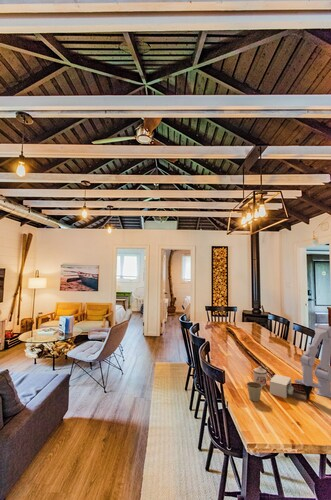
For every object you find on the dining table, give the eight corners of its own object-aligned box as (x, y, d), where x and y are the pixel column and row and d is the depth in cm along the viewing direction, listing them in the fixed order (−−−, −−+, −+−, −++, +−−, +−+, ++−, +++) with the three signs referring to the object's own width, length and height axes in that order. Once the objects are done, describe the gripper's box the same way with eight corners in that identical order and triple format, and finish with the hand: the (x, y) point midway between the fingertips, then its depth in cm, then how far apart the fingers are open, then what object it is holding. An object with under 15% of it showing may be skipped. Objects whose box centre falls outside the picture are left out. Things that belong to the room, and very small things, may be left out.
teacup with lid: (255, 386, 182) (255, 369, 182) (251, 380, 191) (251, 364, 191) (273, 386, 181) (272, 369, 182) (268, 381, 190) (268, 364, 191)
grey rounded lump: (287, 393, 171) (286, 387, 172) (293, 394, 169) (292, 389, 170) (286, 395, 168) (285, 389, 169) (292, 397, 166) (292, 391, 167)
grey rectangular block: (275, 385, 183) (275, 374, 183) (291, 390, 177) (291, 377, 177) (269, 393, 171) (269, 381, 171) (286, 398, 165) (286, 385, 166)
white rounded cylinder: (288, 390, 175) (288, 385, 175) (294, 392, 173) (293, 386, 173) (286, 392, 172) (286, 387, 172) (292, 394, 170) (292, 388, 170)
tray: (284, 390, 177) (284, 387, 177) (308, 396, 169) (307, 393, 169) (281, 396, 169) (281, 392, 169) (305, 402, 161) (305, 399, 161)
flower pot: (243, 397, 166) (243, 383, 166) (255, 394, 169) (255, 380, 170) (253, 404, 157) (253, 389, 158) (265, 401, 161) (265, 386, 161)
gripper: (293, 374, 166) (294, 396, 165) (320, 380, 158) (320, 403, 157) (295, 370, 172) (296, 392, 171) (321, 376, 163) (322, 399, 162)
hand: (308, 397), depth 164 cm, fingers closed
